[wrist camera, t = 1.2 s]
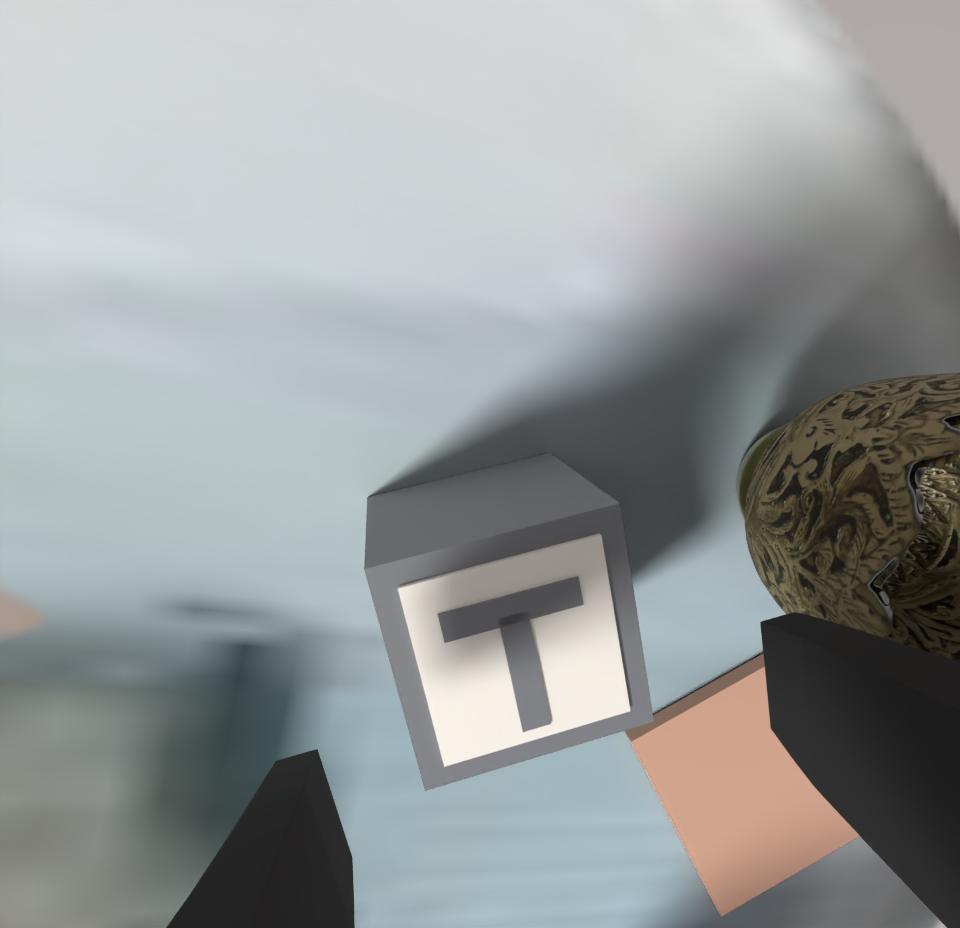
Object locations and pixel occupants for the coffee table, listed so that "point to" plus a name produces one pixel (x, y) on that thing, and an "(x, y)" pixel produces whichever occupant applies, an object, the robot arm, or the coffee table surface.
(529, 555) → the letter block
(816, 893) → the coffee table surface
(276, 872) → the robot arm
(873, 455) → the cup
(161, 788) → the coffee table surface
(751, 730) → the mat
